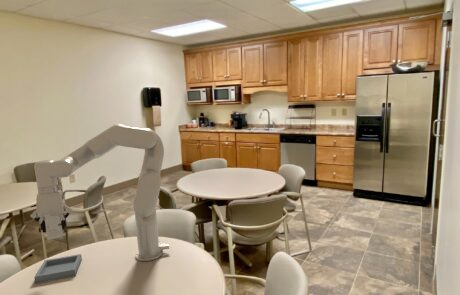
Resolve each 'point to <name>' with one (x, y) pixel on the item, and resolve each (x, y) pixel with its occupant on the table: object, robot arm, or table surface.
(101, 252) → the table surface
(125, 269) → the table surface
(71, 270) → the tray
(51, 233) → the skincare box
